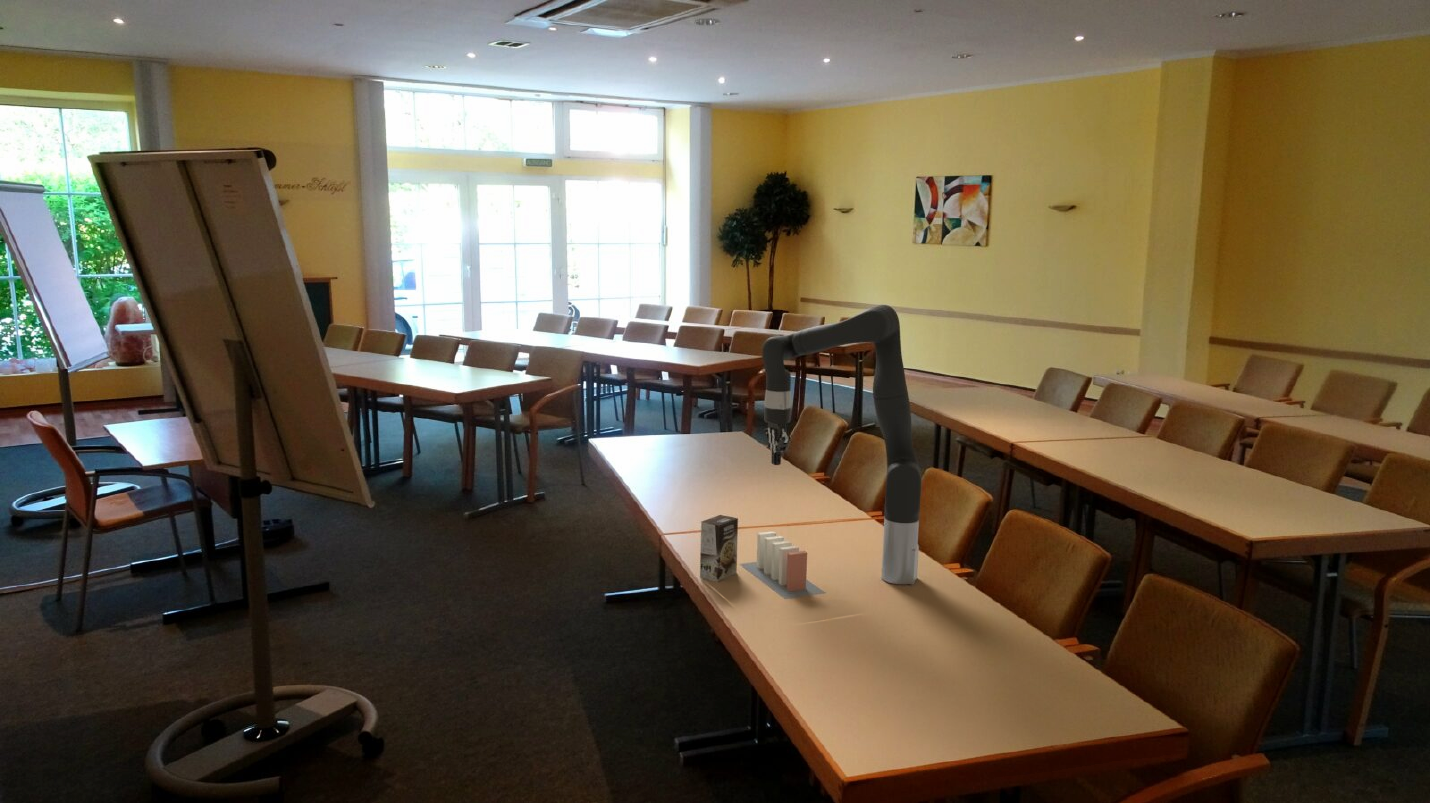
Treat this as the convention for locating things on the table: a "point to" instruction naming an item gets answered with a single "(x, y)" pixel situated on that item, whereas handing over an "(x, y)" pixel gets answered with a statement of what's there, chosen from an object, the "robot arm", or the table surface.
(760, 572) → the mat
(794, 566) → the domino
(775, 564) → the domino
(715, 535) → the coffee box
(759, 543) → the domino
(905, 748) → the table surface
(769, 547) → the domino
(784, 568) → the domino
